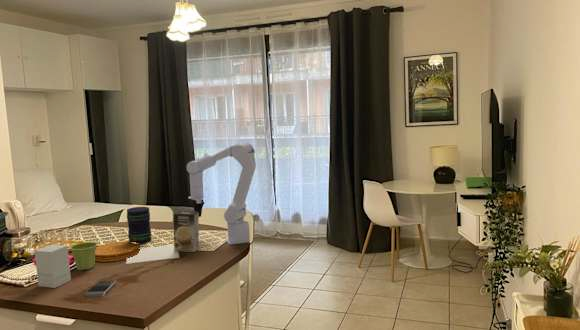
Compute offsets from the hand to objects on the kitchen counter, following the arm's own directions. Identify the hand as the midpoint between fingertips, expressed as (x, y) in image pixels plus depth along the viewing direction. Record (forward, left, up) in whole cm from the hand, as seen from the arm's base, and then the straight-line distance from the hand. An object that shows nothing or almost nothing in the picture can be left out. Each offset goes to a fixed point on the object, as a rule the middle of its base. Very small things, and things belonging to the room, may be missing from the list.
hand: (198, 216), depth 197 cm
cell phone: (+37, +48, -11) cm, 62 cm away
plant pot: (+45, +23, -11) cm, 52 cm away
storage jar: (+26, -6, -11) cm, 29 cm away
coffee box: (+7, +16, -10) cm, 20 cm away
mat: (+21, +16, -10) cm, 28 cm away
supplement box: (+53, +36, -11) cm, 65 cm away
